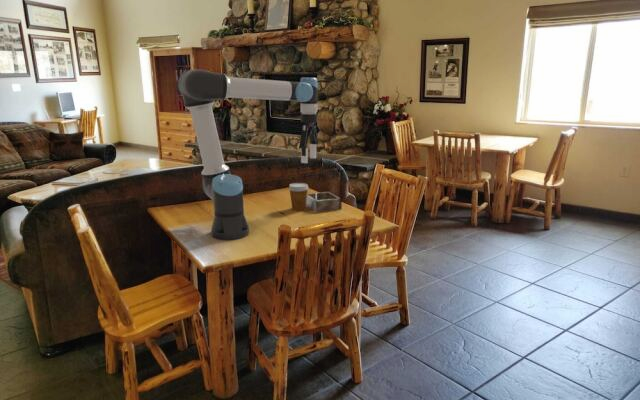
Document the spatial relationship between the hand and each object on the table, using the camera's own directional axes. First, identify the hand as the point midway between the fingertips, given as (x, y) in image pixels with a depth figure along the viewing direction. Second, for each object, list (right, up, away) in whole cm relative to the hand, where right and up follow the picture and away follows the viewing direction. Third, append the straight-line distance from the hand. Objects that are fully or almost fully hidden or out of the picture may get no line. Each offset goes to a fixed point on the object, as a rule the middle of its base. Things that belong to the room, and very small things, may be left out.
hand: (308, 160), depth 206 cm
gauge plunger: (+3, -22, +13) cm, 25 cm away
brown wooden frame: (+7, -21, +15) cm, 27 cm away
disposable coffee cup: (-5, -23, +10) cm, 25 cm away
